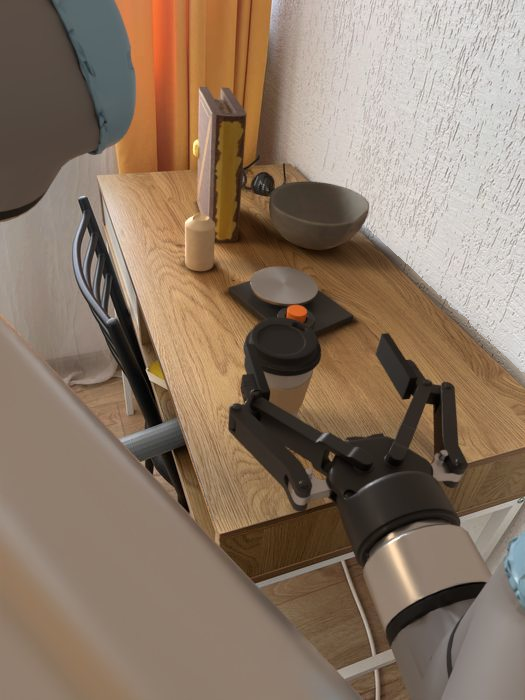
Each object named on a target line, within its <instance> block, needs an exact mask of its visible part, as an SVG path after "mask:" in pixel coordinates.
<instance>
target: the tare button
mask: <svg viewBox="0 0 525 700" xmlns="http://www.w3.org/2000/svg"><path fill="white" fill-rule="evenodd" d="M306 315H307V310H306V308H304V307H303V306H300V305H291V306H289V307H288V309H287V316H286V318H290V319H294V320H297V321H300V322H302V323H304V322H305V321H306Z"/></svg>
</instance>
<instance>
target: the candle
mask: <svg viewBox="0 0 525 700" xmlns="http://www.w3.org/2000/svg"><path fill="white" fill-rule="evenodd" d="M215 243H216V242H215V223H214V221H213V220H212V219H210V218H209V217H207V216H206V215H204V214H203V213H200V212H198V213H196V214H193V215H192V216H190V217H188V218H187V219H186V220H185V222H184V263H185V266H186V268H188V269H189V270H191V271H194V272H206V271H209V270H211V269H212V268H213V267H214V264H215V263H214V262H215Z"/></svg>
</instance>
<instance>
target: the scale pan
mask: <svg viewBox="0 0 525 700" xmlns="http://www.w3.org/2000/svg"><path fill="white" fill-rule="evenodd" d="M249 281H250V287H251V290H252V292H253V293H254V294H255V295H256V296H257V297H258V298H260V299H261V300H263V301H265V302H267V303H270V304H274V305H278V306H285V307H289V306H291V305H304V304H307V303H309V302H311V301H312V300H313V299H314V298H315V297H316V296H317V293H318V290H319V285H318V283H317V281H316V280H315V279H314V278H313V277H312V276H311V275H310V274H308V273H307V272H304V271H302V270H300V269H298V268H293V267H287V266H269V267H265V268H261V269H259V270H258V271H256V272H254V273H253V275H252V276H251V278H250V280H249Z"/></svg>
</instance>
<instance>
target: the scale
mask: <svg viewBox="0 0 525 700" xmlns="http://www.w3.org/2000/svg"><path fill="white" fill-rule="evenodd" d="M227 294H228V295H229V296H231V297H232V298H233V299H234V300H236V302H237V303H239V305H241V306H242V307H244V308H245V309H246V310H247V311H248V312H249V313H251V314H252V315H253V316H254V317H256V318H257V319H258V320H259V322H261V321H263V320H266V319H269V318H277V317H283V318H286V316H287V309H288V307H285V306H278V305H274V304H270V303H267V302H265V301H263V300H261V299H260V298H258V297H257V296H256V295H255V294H254V293H253V292H252V290H251V287H250V280H247V281H244V282H241V283H238V284H235V285H232V286H229V287H228V288H227ZM300 306H303V307H304V308H306V310H307V315H306V321H305V322H304V324H306V325H307V326H309V327H310V328H311V329H312V330H313V331H314V333H315V335H316V337H318V336H320V335H323V334H325V333H327V332H330V331H331V330H335V329H336V328H338V327H341V326H343V325H345V324H348V323H350V322H352V321H353V319H354V314H353V313H351V312H350V311H348V310H347V309H346V308H344V307H343V306H341V304H338V303H337V302H336V301H334V300H333V299H332V298H330V297H329V296H328V295H327V294H325V293H323V292H322V291H321V290H319V289H318V293H317V296H316V297H315V298H314V299H313V300H312V301H311V302H309V303H307V304H304V305H300Z"/></svg>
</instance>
